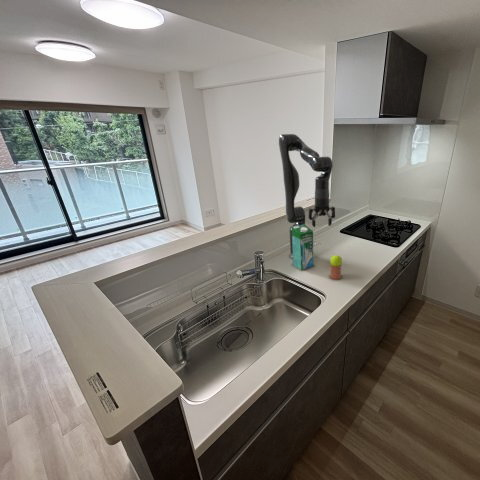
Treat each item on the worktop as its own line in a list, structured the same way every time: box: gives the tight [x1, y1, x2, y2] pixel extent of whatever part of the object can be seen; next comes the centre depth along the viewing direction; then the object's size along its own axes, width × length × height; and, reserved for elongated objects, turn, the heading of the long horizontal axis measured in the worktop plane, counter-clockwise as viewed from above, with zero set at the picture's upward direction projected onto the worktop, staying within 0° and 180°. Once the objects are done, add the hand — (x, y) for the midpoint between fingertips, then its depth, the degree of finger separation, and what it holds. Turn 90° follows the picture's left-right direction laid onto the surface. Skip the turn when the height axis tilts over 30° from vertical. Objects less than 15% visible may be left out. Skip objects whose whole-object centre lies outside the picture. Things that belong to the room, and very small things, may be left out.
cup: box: [329, 264, 342, 280], centre depth 144 cm, size 6×6×8 cm
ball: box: [329, 254, 343, 266], centre depth 142 cm, size 6×6×6 cm
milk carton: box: [292, 223, 314, 271], centre depth 155 cm, size 9×9×25 cm
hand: (321, 226), depth 142 cm, fingers open, 8 cm apart
